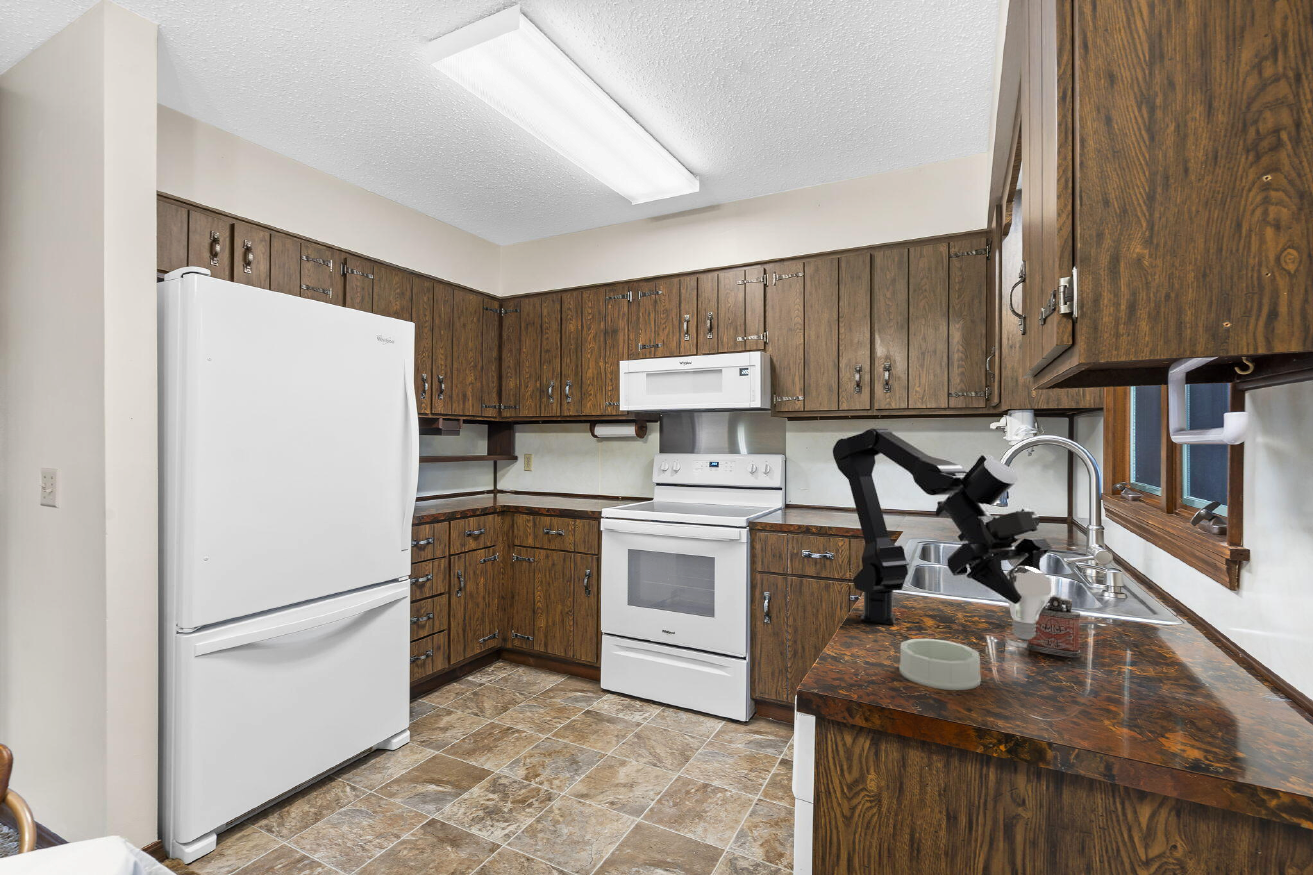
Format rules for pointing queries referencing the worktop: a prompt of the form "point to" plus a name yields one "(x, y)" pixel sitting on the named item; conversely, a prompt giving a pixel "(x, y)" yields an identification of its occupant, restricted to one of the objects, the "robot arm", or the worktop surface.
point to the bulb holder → (940, 664)
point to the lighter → (1057, 629)
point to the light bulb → (1028, 599)
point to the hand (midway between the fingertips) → (1032, 600)
